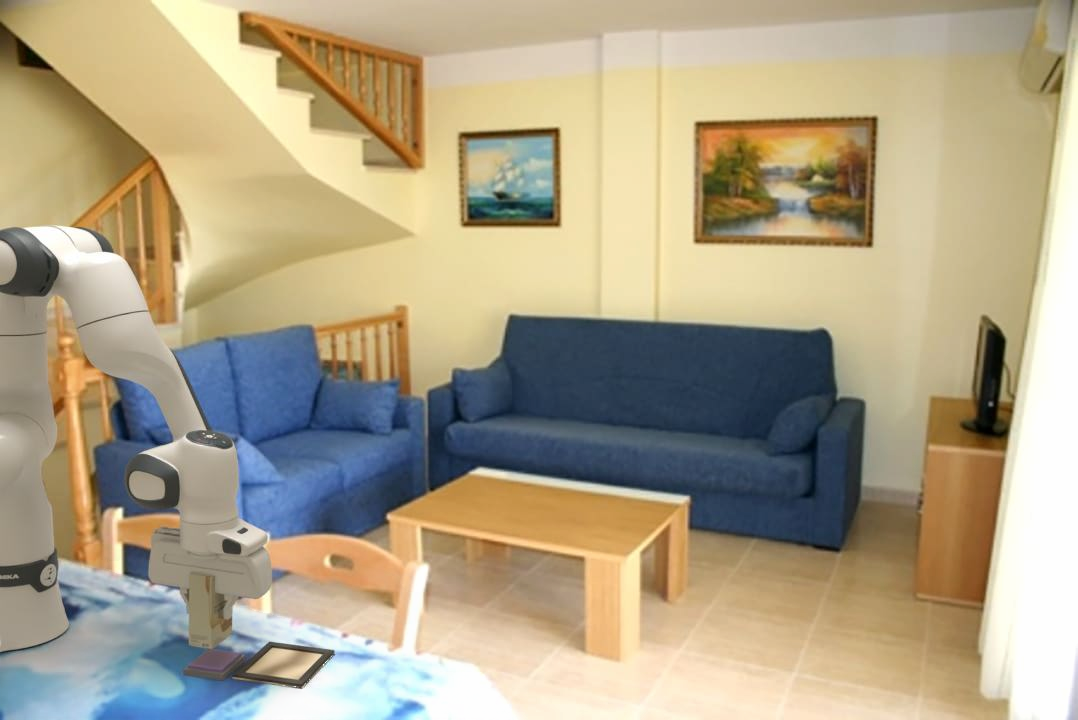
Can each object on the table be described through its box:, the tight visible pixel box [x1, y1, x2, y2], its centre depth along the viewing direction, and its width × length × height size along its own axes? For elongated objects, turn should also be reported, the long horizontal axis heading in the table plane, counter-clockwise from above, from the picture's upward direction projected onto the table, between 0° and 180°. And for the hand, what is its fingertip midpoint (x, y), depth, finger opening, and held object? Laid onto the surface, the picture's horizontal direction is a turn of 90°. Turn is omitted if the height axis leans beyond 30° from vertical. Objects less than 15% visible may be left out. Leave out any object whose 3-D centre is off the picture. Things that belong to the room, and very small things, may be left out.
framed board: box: [231, 641, 335, 688], centre depth 154 cm, size 12×12×1 cm
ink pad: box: [182, 648, 247, 682], centre depth 153 cm, size 7×7×2 cm
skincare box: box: [188, 572, 233, 649], centre depth 151 cm, size 6×4×12 cm
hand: (209, 615), depth 151 cm, fingers closed on skincare box, 4 cm apart
